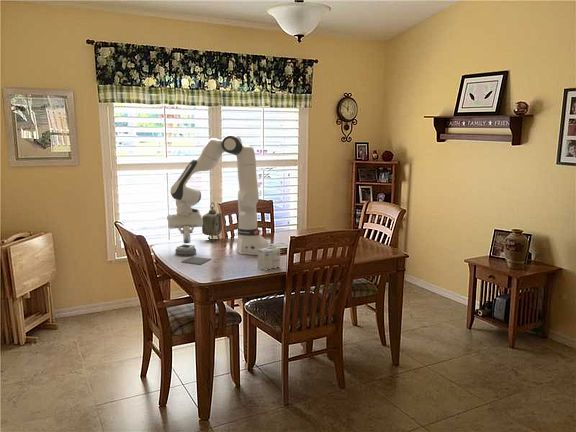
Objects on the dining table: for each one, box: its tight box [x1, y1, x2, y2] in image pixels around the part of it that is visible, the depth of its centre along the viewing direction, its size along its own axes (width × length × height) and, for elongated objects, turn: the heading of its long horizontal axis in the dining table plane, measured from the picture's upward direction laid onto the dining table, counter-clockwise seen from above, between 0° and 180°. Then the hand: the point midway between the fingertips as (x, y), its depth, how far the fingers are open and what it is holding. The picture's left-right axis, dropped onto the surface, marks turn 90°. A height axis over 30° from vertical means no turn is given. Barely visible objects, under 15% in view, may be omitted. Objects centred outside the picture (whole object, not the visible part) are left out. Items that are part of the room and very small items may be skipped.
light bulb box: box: [257, 246, 281, 271], centre depth 274 cm, size 11×7×11 cm, turn 129°
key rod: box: [182, 225, 191, 244], centre depth 299 cm, size 4×4×10 cm
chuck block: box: [174, 243, 197, 257], centre depth 300 cm, size 12×12×4 cm
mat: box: [181, 255, 212, 266], centre depth 285 cm, size 12×12×1 cm
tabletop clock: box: [201, 201, 223, 242], centre depth 337 cm, size 14×9×25 cm, turn 168°
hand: (186, 233), depth 298 cm, fingers closed on key rod, 4 cm apart
